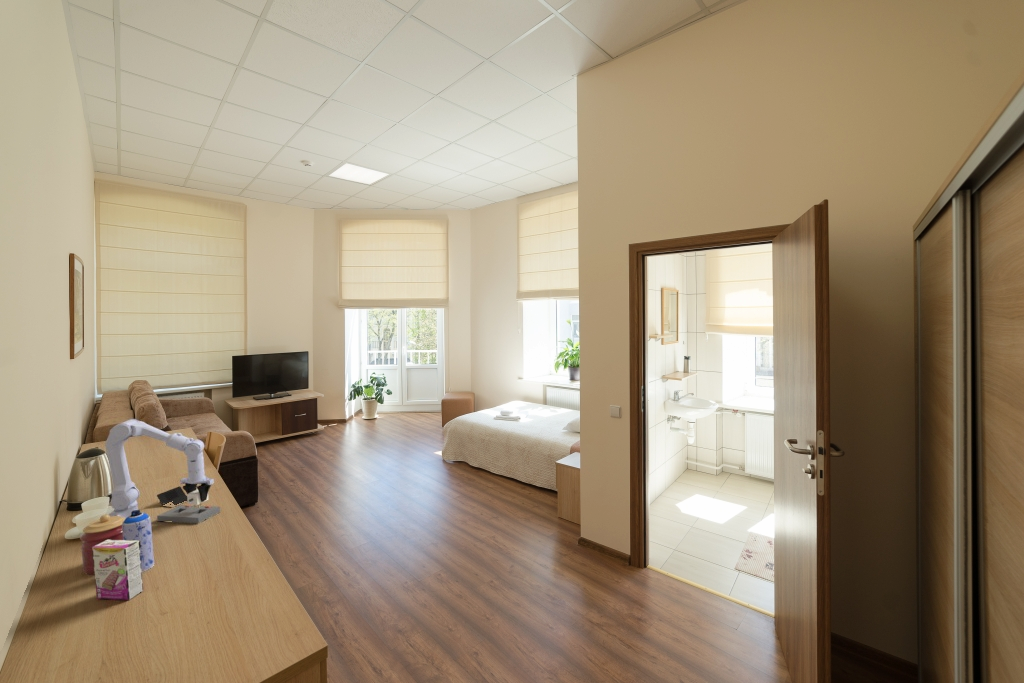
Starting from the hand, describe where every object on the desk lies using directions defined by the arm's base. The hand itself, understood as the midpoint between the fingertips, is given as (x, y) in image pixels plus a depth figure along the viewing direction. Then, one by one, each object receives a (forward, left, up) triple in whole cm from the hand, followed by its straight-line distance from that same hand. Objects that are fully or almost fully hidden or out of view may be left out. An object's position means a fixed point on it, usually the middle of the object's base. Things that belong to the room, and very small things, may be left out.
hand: (198, 500), depth 192 cm
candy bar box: (-52, -23, -8) cm, 57 cm away
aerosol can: (-38, -14, -8) cm, 41 cm away
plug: (0, 0, -3) cm, 3 cm away
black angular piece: (+14, +26, -8) cm, 31 cm away
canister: (-37, 0, -8) cm, 38 cm away
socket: (0, +5, -7) cm, 9 cm away
